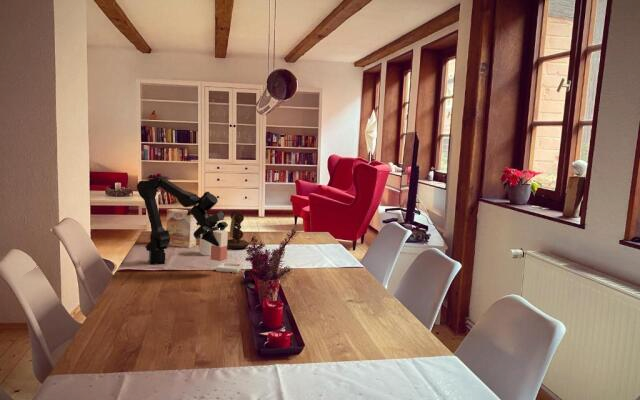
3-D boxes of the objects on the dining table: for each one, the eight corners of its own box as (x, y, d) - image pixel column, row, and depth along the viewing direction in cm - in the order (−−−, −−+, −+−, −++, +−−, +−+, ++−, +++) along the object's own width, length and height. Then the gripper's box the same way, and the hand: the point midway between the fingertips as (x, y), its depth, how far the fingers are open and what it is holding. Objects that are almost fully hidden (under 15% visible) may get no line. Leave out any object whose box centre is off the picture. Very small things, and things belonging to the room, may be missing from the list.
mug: (224, 255, 252) (225, 234, 250) (201, 256, 247) (201, 235, 245) (220, 251, 259) (221, 231, 258) (197, 252, 254) (198, 232, 253)
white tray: (216, 271, 220) (216, 267, 220) (222, 265, 230) (223, 262, 230) (237, 273, 219) (237, 269, 219) (243, 267, 229) (243, 264, 229)
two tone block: (210, 259, 214) (211, 231, 212) (217, 257, 218) (218, 229, 217) (220, 261, 212) (221, 232, 210) (226, 259, 216) (227, 231, 215)
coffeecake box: (165, 244, 267) (166, 209, 265) (172, 242, 274) (173, 208, 272) (189, 248, 263) (190, 212, 261) (196, 245, 270) (197, 210, 268)
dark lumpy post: (219, 245, 275) (221, 210, 273) (245, 244, 281) (246, 210, 279) (226, 250, 262) (227, 214, 260) (252, 249, 268) (254, 214, 266)
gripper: (200, 208, 205) (221, 237, 202) (225, 204, 222) (244, 230, 219) (184, 224, 209) (204, 252, 206) (210, 219, 226) (229, 245, 223)
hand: (221, 244), depth 214 cm, fingers closed on two tone block, 5 cm apart
